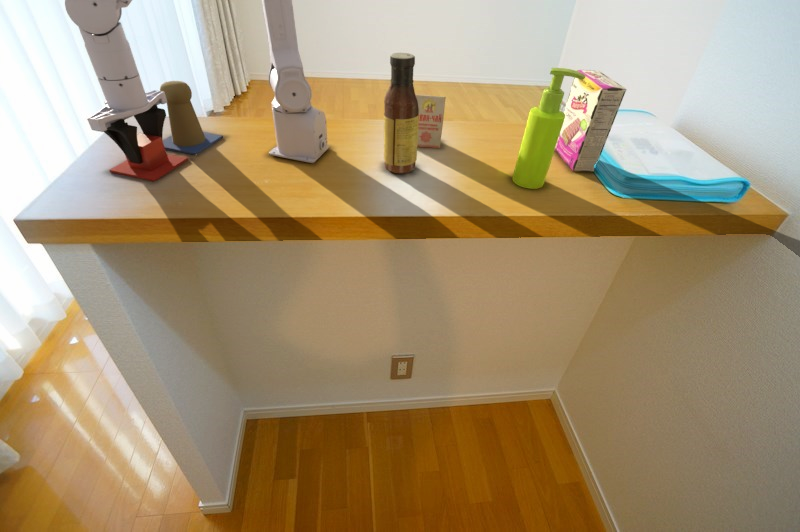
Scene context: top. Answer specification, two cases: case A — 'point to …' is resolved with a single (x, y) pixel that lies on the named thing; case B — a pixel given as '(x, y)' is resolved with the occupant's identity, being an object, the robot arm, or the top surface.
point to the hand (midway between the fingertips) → (147, 156)
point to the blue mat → (192, 149)
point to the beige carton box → (430, 120)
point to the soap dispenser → (542, 133)
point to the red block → (150, 152)
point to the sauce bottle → (401, 116)
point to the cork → (182, 114)
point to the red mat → (150, 175)
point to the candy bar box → (588, 119)
